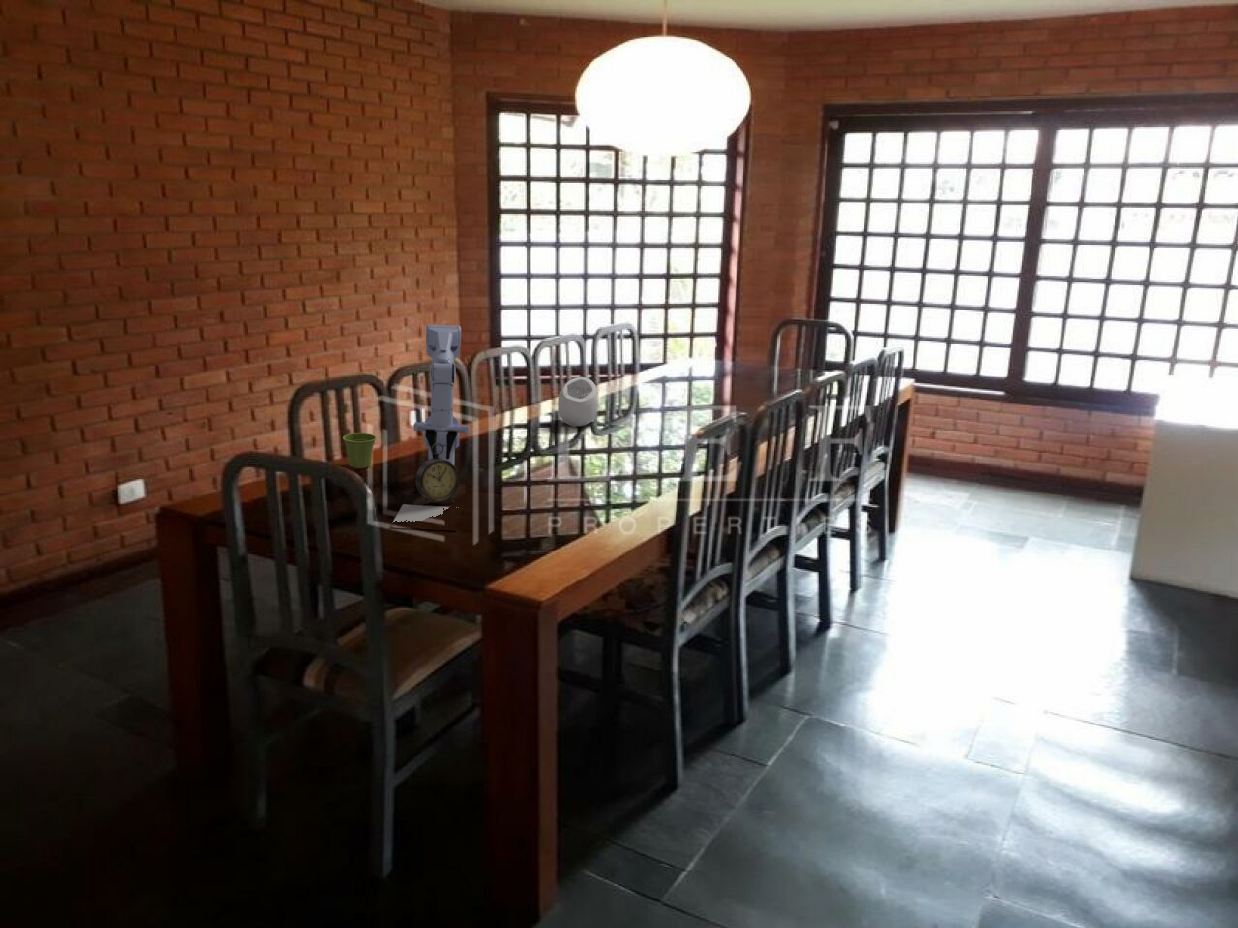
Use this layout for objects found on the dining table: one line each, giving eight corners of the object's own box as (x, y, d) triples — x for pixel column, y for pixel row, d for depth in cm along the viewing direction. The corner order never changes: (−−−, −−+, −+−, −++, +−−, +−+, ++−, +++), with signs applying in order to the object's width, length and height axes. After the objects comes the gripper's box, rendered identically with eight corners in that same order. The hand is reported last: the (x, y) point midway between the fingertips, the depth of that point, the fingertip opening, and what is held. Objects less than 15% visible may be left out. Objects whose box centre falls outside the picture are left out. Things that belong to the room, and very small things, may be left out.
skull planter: (604, 412, 352) (602, 371, 339) (593, 448, 338) (591, 407, 325) (568, 408, 354) (565, 368, 341) (555, 444, 340) (552, 403, 327)
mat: (403, 506, 246) (403, 504, 246) (465, 509, 247) (465, 507, 247) (390, 527, 231) (390, 526, 231) (456, 531, 231) (456, 529, 231)
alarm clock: (420, 507, 244) (422, 445, 241) (412, 502, 248) (413, 441, 245) (459, 504, 250) (461, 443, 247) (450, 499, 254) (452, 440, 251)
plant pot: (341, 470, 271) (341, 441, 268) (344, 460, 280) (344, 432, 277) (375, 470, 273) (375, 441, 270) (377, 461, 282) (377, 433, 279)
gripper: (411, 410, 246) (411, 460, 249) (467, 413, 246) (466, 463, 250) (416, 404, 252) (415, 453, 256) (471, 407, 253) (469, 456, 257)
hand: (441, 458), depth 253 cm, fingers open, 3 cm apart
